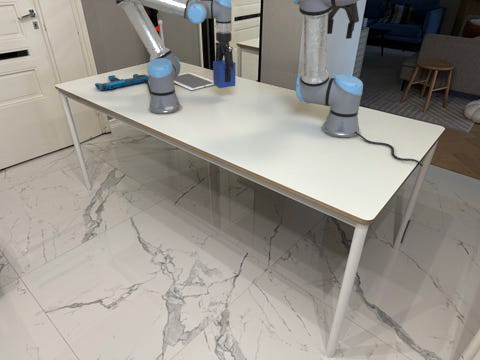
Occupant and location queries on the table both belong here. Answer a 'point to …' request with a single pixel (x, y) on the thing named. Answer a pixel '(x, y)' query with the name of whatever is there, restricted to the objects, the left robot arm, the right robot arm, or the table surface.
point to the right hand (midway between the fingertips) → (338, 36)
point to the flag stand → (160, 29)
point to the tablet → (192, 81)
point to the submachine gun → (121, 82)
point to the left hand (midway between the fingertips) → (224, 79)
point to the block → (222, 74)
